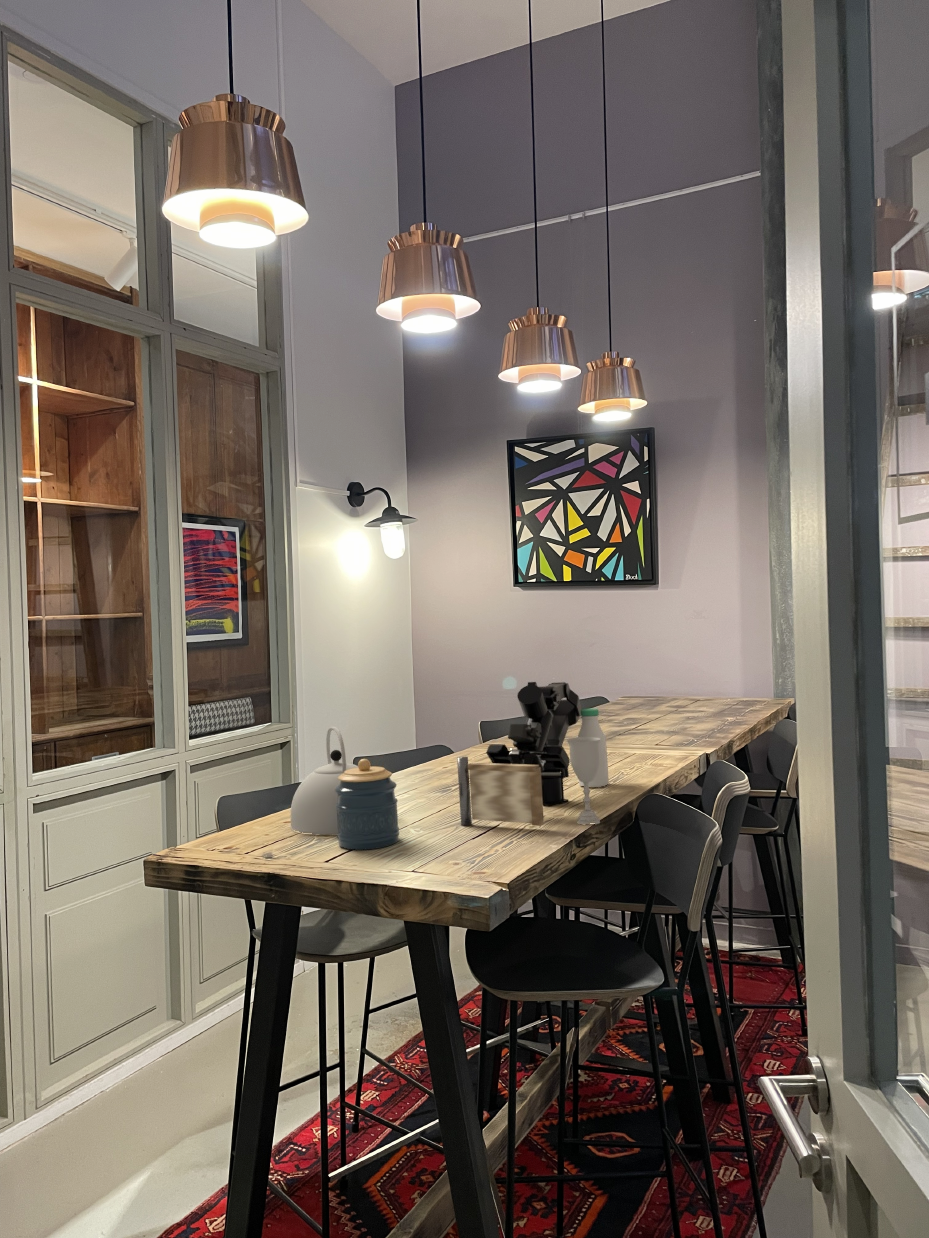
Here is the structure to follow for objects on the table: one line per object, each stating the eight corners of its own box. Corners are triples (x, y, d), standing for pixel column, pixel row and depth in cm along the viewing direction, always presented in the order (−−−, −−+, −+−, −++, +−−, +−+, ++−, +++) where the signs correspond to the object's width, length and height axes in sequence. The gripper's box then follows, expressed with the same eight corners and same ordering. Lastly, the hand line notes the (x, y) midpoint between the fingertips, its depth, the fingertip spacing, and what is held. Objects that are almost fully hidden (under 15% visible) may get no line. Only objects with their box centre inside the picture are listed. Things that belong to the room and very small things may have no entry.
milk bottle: (613, 783, 239) (609, 707, 239) (601, 789, 233) (596, 711, 233) (586, 782, 244) (582, 707, 244) (574, 787, 237) (569, 710, 237)
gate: (471, 820, 201) (467, 764, 201) (475, 818, 202) (472, 762, 202) (539, 825, 192) (536, 766, 192) (543, 823, 194) (540, 764, 194)
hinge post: (467, 823, 204) (463, 756, 204) (474, 824, 202) (469, 757, 202) (458, 824, 203) (454, 757, 203) (465, 826, 201) (461, 758, 201)
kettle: (282, 818, 221) (276, 725, 221) (373, 806, 229) (367, 717, 229) (299, 840, 198) (293, 736, 198) (400, 826, 205) (394, 726, 205)
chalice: (608, 818, 200) (603, 737, 200) (602, 826, 193) (597, 741, 193) (575, 818, 202) (570, 737, 202) (568, 825, 196) (563, 742, 196)
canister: (347, 854, 183) (342, 766, 183) (330, 841, 195) (325, 758, 195) (408, 844, 188) (403, 758, 188) (388, 832, 200) (383, 751, 200)
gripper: (487, 709, 212) (467, 765, 202) (561, 709, 203) (543, 767, 193) (504, 738, 219) (485, 793, 209) (577, 739, 210) (560, 797, 200)
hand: (517, 787), depth 203 cm, fingers closed
